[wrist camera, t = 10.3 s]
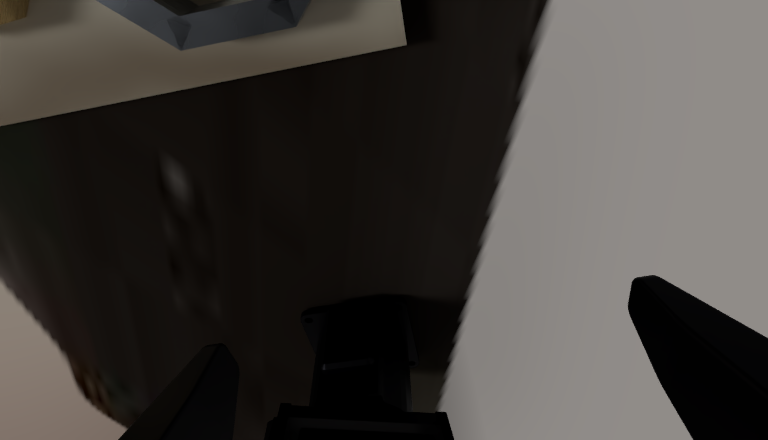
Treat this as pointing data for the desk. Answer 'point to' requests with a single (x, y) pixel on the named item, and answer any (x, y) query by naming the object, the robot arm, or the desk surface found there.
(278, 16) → the collar
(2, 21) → the narrow collar
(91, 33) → the fitting board
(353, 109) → the desk surface
